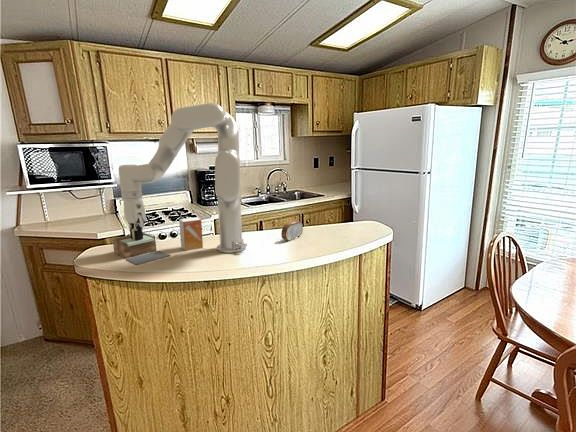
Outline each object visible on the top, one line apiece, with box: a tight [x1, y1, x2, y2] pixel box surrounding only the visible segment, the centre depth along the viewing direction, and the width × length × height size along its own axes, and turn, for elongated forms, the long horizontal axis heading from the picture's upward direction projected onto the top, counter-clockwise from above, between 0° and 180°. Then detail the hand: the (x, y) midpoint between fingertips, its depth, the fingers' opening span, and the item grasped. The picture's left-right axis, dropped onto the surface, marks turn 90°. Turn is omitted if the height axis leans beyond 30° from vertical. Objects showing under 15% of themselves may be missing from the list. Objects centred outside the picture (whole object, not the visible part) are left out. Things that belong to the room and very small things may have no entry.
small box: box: [178, 216, 204, 251], centre depth 141 cm, size 8×6×13 cm
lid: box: [120, 228, 154, 246], centre depth 134 cm, size 8×11×6 cm
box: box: [112, 232, 157, 260], centre depth 136 cm, size 11×13×6 cm
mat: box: [125, 250, 171, 266], centre depth 130 cm, size 9×14×1 cm, turn 140°
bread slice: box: [281, 220, 304, 242], centre depth 154 cm, size 15×3×8 cm, turn 144°
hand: (136, 238), depth 134 cm, fingers closed on lid, 3 cm apart
